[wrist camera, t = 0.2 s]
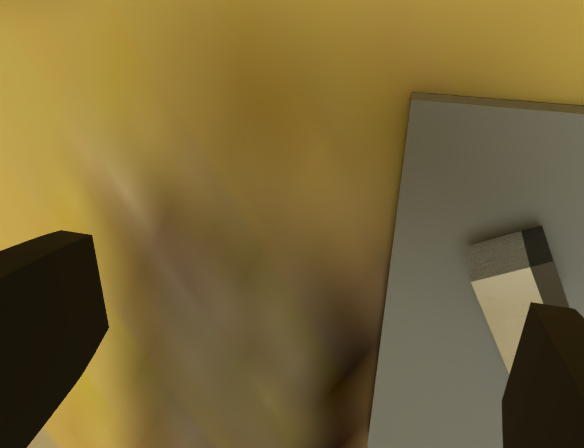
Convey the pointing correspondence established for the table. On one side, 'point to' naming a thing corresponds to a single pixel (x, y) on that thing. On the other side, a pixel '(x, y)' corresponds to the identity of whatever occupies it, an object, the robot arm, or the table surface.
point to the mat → (455, 258)
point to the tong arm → (514, 283)
